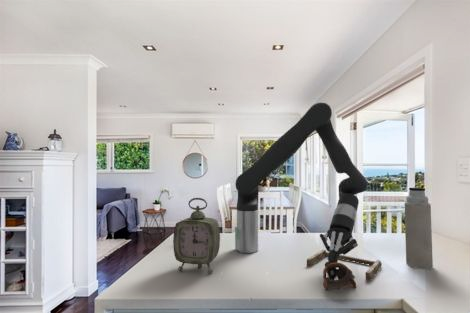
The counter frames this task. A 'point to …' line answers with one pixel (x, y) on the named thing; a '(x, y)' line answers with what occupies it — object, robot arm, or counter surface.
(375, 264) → the walnut mug dock
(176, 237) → the tabletop clock
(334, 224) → the robot arm
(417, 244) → the thermos bottle
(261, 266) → the counter surface
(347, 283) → the pottery mug
